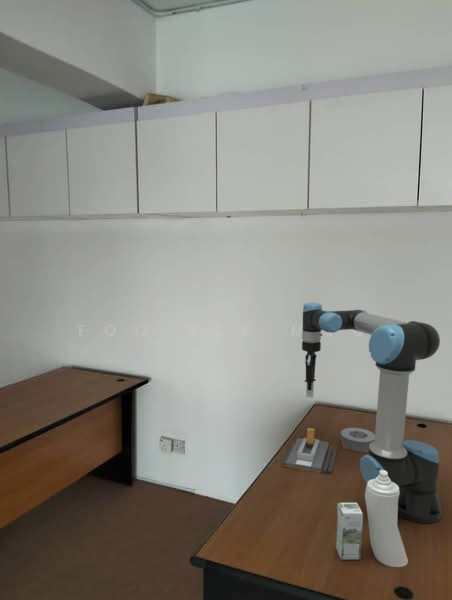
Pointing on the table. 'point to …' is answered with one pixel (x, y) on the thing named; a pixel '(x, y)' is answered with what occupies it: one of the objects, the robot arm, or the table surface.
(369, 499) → the spray can
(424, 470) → the robot arm
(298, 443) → the breaker panel
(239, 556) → the table surface
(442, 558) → the table surface
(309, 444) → the breaker toggle
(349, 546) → the syrup box
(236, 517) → the table surface
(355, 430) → the tape roll
